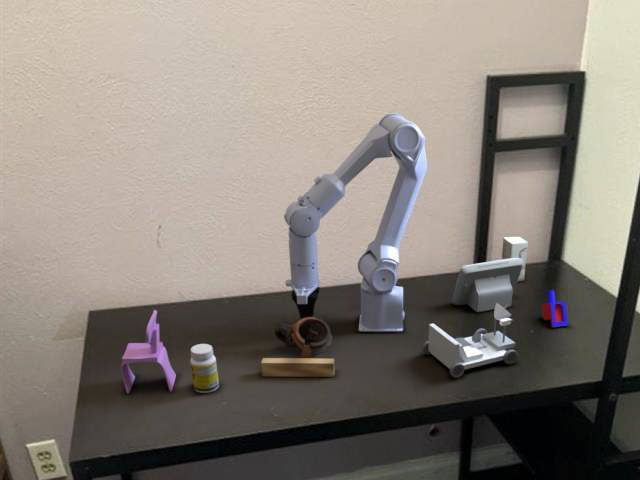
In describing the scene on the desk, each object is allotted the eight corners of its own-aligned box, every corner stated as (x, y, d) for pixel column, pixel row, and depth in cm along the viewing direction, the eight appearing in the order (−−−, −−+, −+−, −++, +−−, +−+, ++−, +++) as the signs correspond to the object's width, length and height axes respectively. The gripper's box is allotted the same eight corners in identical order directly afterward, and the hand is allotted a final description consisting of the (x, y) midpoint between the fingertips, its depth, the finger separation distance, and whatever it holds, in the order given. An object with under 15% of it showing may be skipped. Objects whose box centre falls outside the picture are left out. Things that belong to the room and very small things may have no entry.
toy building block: (559, 326, 174) (555, 290, 173) (568, 325, 170) (564, 288, 169) (544, 328, 173) (540, 292, 173) (553, 327, 169) (549, 290, 169)
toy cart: (499, 294, 161) (532, 315, 152) (495, 337, 166) (528, 360, 157) (423, 310, 154) (453, 334, 145) (421, 354, 159) (451, 379, 150)
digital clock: (513, 293, 186) (517, 251, 181) (526, 309, 178) (530, 265, 173) (447, 298, 184) (449, 255, 178) (457, 314, 176) (459, 270, 171)
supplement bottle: (195, 381, 150) (190, 343, 146) (220, 380, 151) (215, 341, 146) (192, 394, 146) (187, 354, 142) (218, 393, 147) (213, 353, 142)
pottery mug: (329, 339, 167) (337, 317, 160) (323, 376, 161) (331, 354, 155) (273, 327, 165) (279, 304, 158) (266, 364, 160) (271, 341, 153)
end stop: (334, 371, 153) (334, 358, 152) (334, 376, 152) (333, 363, 150) (263, 371, 154) (262, 358, 152) (262, 376, 152) (261, 362, 151)
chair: (131, 374, 153) (118, 304, 145) (177, 372, 153) (166, 302, 146) (123, 396, 146) (109, 323, 138) (170, 394, 146) (159, 321, 139)
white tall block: (524, 281, 192) (528, 242, 187) (508, 283, 191) (511, 244, 186) (515, 273, 197) (519, 235, 192) (499, 275, 196) (502, 237, 191)
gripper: (288, 249, 166) (292, 307, 173) (280, 274, 154) (284, 336, 160) (321, 249, 166) (323, 307, 173) (315, 274, 153) (318, 336, 160)
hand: (307, 321), depth 167 cm, fingers closed
